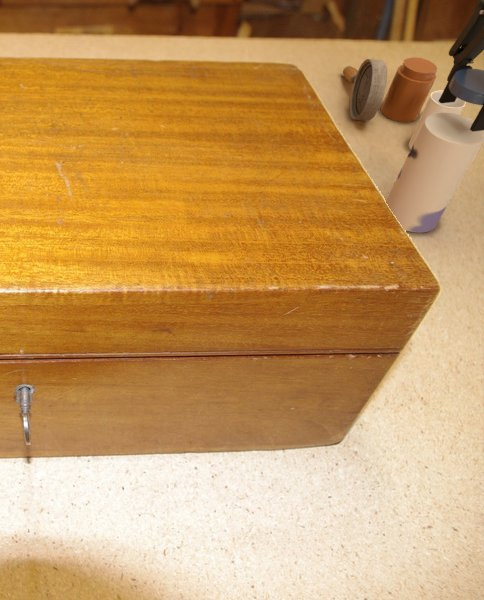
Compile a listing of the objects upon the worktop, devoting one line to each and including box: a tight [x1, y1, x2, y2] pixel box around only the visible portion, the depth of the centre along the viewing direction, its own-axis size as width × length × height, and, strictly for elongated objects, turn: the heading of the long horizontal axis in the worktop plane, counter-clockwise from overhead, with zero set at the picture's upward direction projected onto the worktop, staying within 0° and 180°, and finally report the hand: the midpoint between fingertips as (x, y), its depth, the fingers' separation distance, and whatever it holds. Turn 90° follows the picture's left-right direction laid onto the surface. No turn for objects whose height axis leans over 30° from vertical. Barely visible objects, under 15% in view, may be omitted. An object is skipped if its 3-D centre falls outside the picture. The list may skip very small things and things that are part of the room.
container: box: [385, 113, 484, 233], centre depth 128 cm, size 10×10×20 cm
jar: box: [380, 57, 438, 123], centre depth 157 cm, size 8×8×12 cm
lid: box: [449, 68, 484, 106], centre depth 116 cm, size 8×8×2 cm
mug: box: [408, 89, 467, 151], centre depth 148 cm, size 10×7×12 cm, turn 166°
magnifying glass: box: [342, 58, 388, 122], centre depth 160 cm, size 13×3×25 cm
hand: (462, 115), depth 119 cm, fingers closed on lid, 8 cm apart
